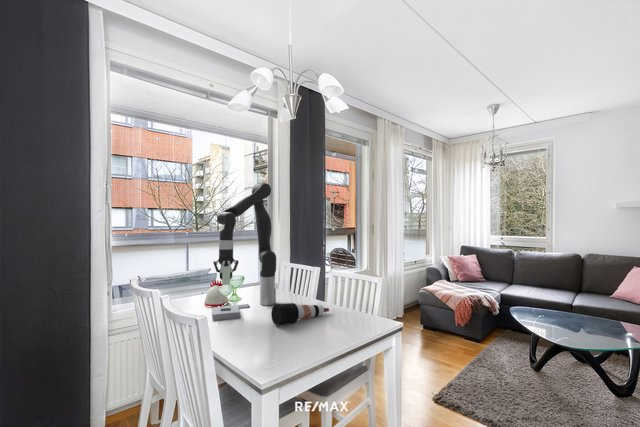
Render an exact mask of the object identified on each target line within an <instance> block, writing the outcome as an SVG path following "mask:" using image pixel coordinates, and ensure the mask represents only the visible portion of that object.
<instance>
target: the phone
mask: <svg viewBox="0 0 640 427" xmlns="http://www.w3.org/2000/svg"><path fill="white" fill-rule="evenodd" d="M237 305H238V308H239V310H241V309H242V310H243V309H249V308H250V309H251V306H250V304H249V303H246V304H244V303H243V304H237Z"/></svg>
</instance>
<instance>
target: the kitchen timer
mask: <svg viewBox="0 0 640 427" xmlns="http://www.w3.org/2000/svg"><path fill="white" fill-rule="evenodd" d="M209 285H210V289H208V291H207V292H206V295H205V298H204V306H205V305H206V306H211V307H210V308H212V307H218V306H221V307H222V305H224V304H225V303H227V302H228V303H229V298H228V296H227V297H226V296H224V295H223V294H222V293H221V292H220V291H219V288H218V287H219V286H222V287H223V285H222V280H221V279H220V281H219V279H217V280H216V279H215V280H214V281H212V283H210V284H209ZM206 306H205V307H206Z"/></svg>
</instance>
